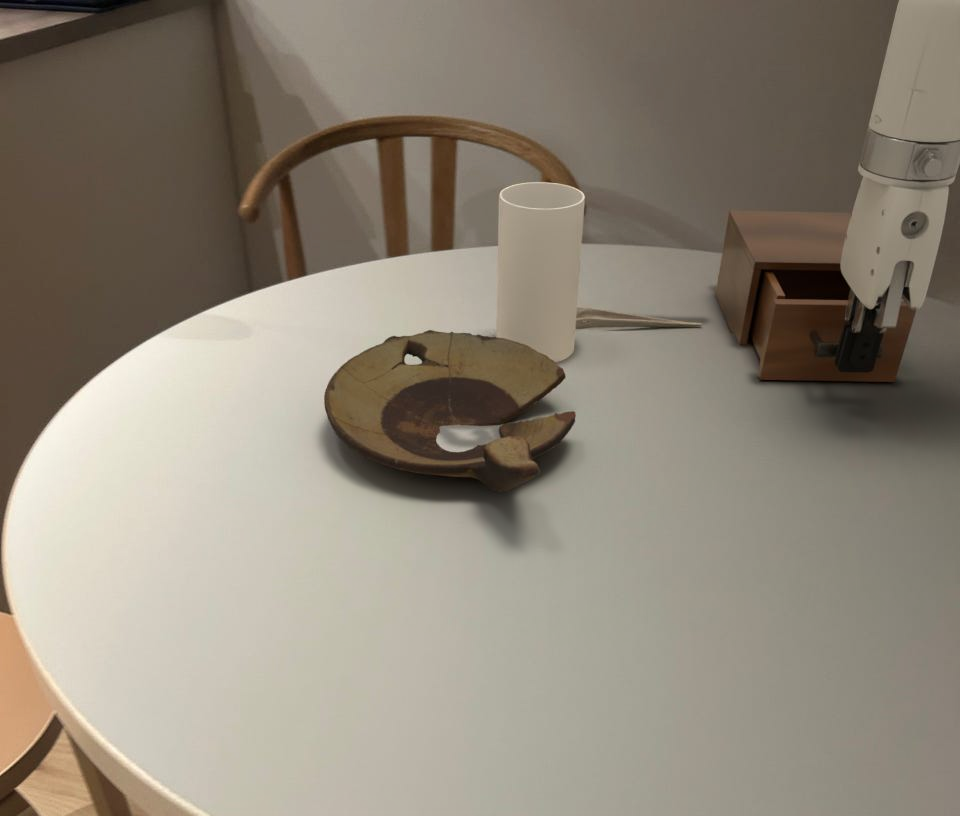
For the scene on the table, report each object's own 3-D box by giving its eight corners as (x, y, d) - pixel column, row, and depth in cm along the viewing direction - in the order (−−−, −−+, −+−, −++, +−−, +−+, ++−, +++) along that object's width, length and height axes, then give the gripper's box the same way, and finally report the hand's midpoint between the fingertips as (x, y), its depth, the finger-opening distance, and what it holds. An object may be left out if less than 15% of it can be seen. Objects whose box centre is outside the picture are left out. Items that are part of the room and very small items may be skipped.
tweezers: (546, 335, 108) (548, 317, 107) (543, 318, 112) (545, 300, 111) (703, 346, 109) (707, 328, 108) (695, 328, 113) (699, 311, 112)
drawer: (907, 402, 95) (932, 324, 90) (767, 400, 96) (784, 322, 91) (856, 322, 110) (875, 250, 104) (735, 319, 110) (748, 248, 105)
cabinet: (875, 354, 105) (901, 264, 99) (737, 352, 106) (754, 261, 99) (839, 296, 117) (860, 212, 111) (715, 294, 117) (729, 210, 111)
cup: (484, 362, 103) (486, 202, 93) (512, 331, 109) (516, 177, 99) (558, 376, 101) (569, 214, 91) (583, 344, 107) (595, 188, 96)
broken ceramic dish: (563, 378, 101) (568, 305, 96) (586, 553, 78) (594, 468, 73) (343, 376, 101) (337, 302, 96) (302, 550, 78) (291, 465, 73)
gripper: (992, 184, 74) (918, 407, 86) (927, 131, 85) (870, 334, 97) (891, 183, 74) (832, 406, 86) (840, 129, 85) (794, 333, 97)
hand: (852, 368), depth 92 cm, fingers closed
